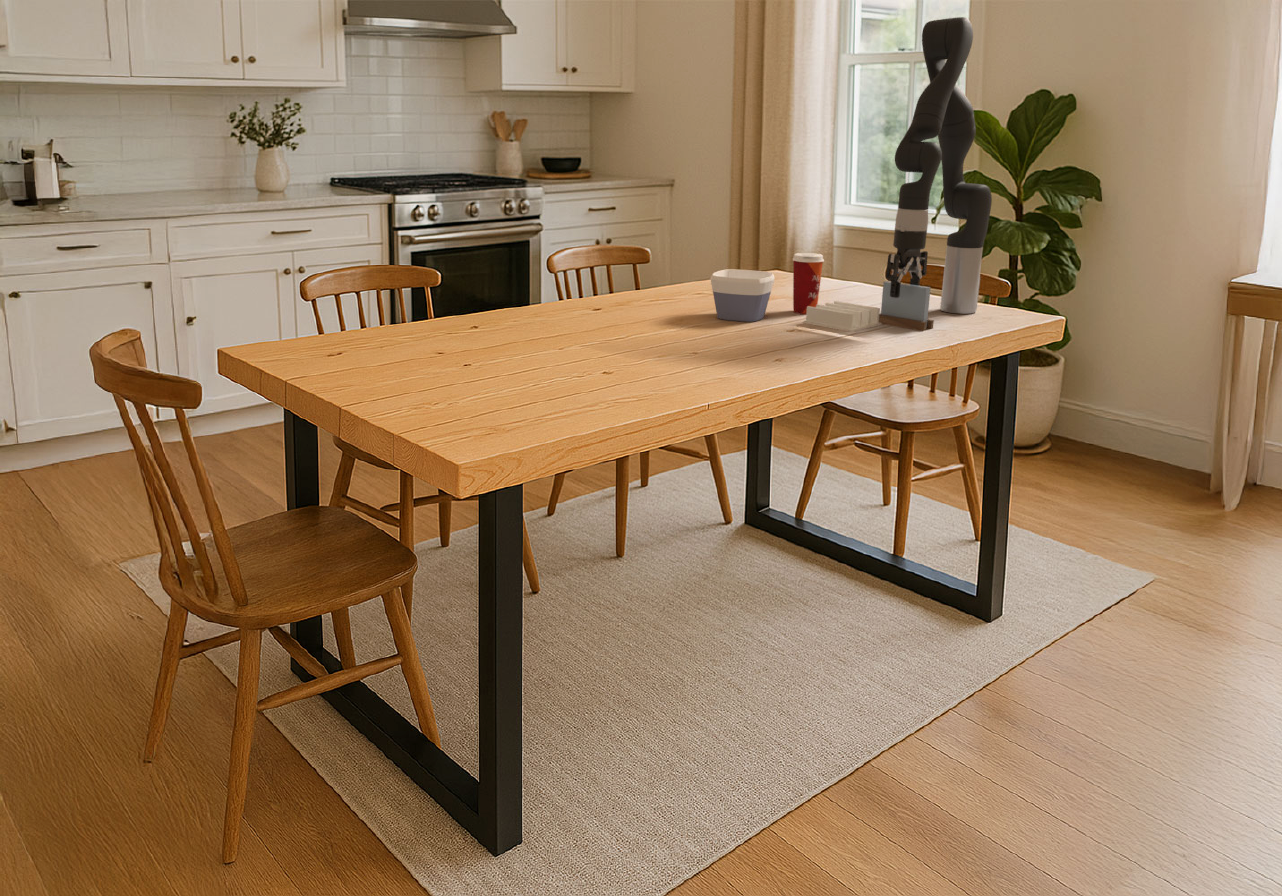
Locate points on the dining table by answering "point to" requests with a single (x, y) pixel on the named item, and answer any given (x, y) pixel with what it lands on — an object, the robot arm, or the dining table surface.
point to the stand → (905, 322)
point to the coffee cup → (806, 280)
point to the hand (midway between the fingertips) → (904, 295)
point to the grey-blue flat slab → (906, 302)
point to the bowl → (741, 294)
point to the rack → (843, 316)
